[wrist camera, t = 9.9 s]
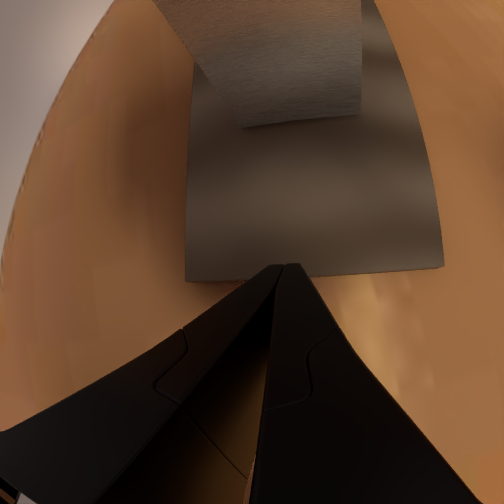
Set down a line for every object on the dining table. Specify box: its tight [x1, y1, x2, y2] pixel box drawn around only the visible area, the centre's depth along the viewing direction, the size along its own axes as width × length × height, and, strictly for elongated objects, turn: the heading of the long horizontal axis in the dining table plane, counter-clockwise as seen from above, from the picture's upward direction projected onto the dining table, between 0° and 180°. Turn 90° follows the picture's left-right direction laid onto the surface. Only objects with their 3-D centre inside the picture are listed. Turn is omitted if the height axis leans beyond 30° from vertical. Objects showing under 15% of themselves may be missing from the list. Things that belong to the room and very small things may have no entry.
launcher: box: [185, 0, 445, 283], centre depth 15 cm, size 28×14×10 cm, turn 1°
